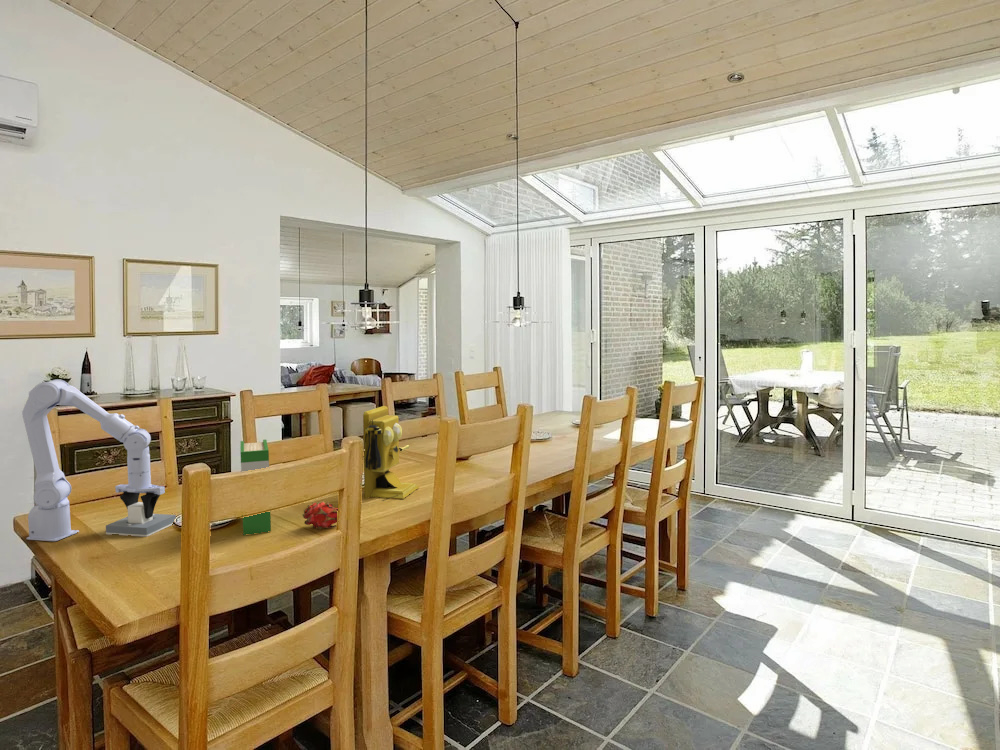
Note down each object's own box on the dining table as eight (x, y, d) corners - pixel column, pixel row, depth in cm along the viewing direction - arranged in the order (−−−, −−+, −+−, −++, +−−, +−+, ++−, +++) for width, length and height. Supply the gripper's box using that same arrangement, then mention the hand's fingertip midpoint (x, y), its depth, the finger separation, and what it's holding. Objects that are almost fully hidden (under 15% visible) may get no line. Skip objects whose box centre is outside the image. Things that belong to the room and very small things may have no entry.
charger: (128, 526, 177) (127, 506, 176) (139, 521, 181) (138, 501, 180) (142, 527, 176) (141, 507, 175) (153, 522, 180) (152, 502, 180)
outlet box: (106, 534, 174) (105, 524, 174) (137, 520, 186) (136, 512, 186) (146, 536, 172) (146, 527, 172) (175, 523, 184) (175, 514, 184)
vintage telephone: (392, 507, 200) (391, 417, 198) (353, 504, 203) (352, 415, 201) (425, 483, 230) (425, 404, 228) (391, 481, 234) (390, 403, 231)
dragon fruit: (299, 533, 180) (341, 535, 183) (300, 524, 173) (344, 526, 176) (303, 505, 184) (344, 508, 187) (304, 495, 177) (346, 498, 181)
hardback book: (243, 517, 190) (240, 441, 188) (268, 514, 192) (266, 439, 190) (243, 535, 173) (240, 452, 171) (270, 532, 176) (268, 450, 174)
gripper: (106, 473, 175) (108, 520, 176) (151, 475, 172) (153, 522, 173) (125, 468, 182) (127, 512, 183) (169, 470, 179) (170, 515, 180)
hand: (141, 517), depth 179 cm, fingers closed on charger, 4 cm apart
